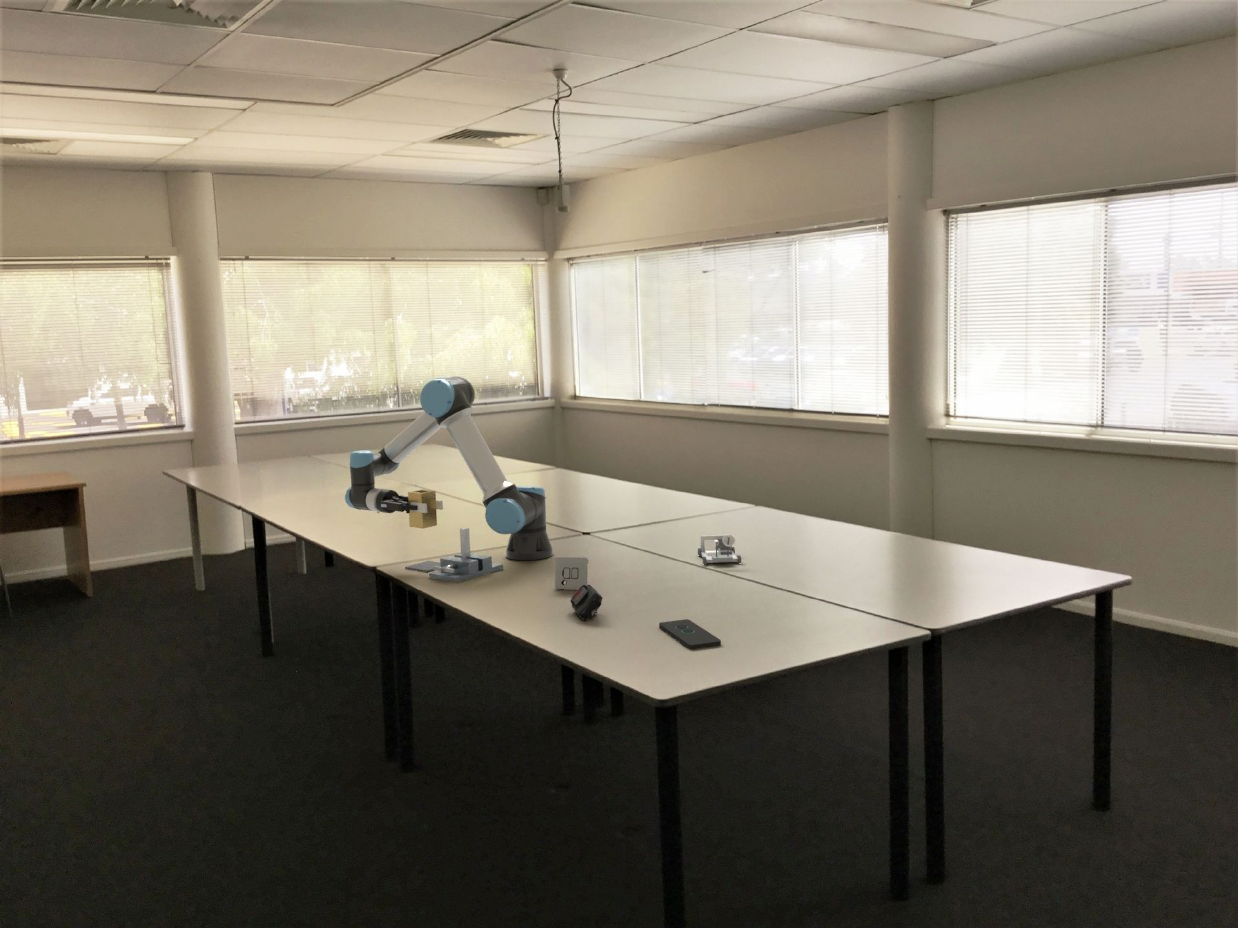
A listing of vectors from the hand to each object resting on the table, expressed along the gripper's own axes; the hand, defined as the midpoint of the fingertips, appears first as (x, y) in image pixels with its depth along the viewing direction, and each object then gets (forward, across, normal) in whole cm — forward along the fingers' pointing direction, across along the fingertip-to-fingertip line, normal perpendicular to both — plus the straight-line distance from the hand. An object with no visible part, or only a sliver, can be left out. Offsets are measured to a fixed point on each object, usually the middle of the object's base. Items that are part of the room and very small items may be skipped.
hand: (433, 506), depth 323 cm
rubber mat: (-4, 0, -20) cm, 20 cm away
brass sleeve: (-5, 0, -7) cm, 8 cm away
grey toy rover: (+71, -52, -20) cm, 91 cm away
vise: (+13, 0, -20) cm, 23 cm away
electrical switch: (+52, -2, -20) cm, 56 cm away
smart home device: (+106, +20, -20) cm, 110 cm away
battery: (+74, +18, -20) cm, 78 cm away
